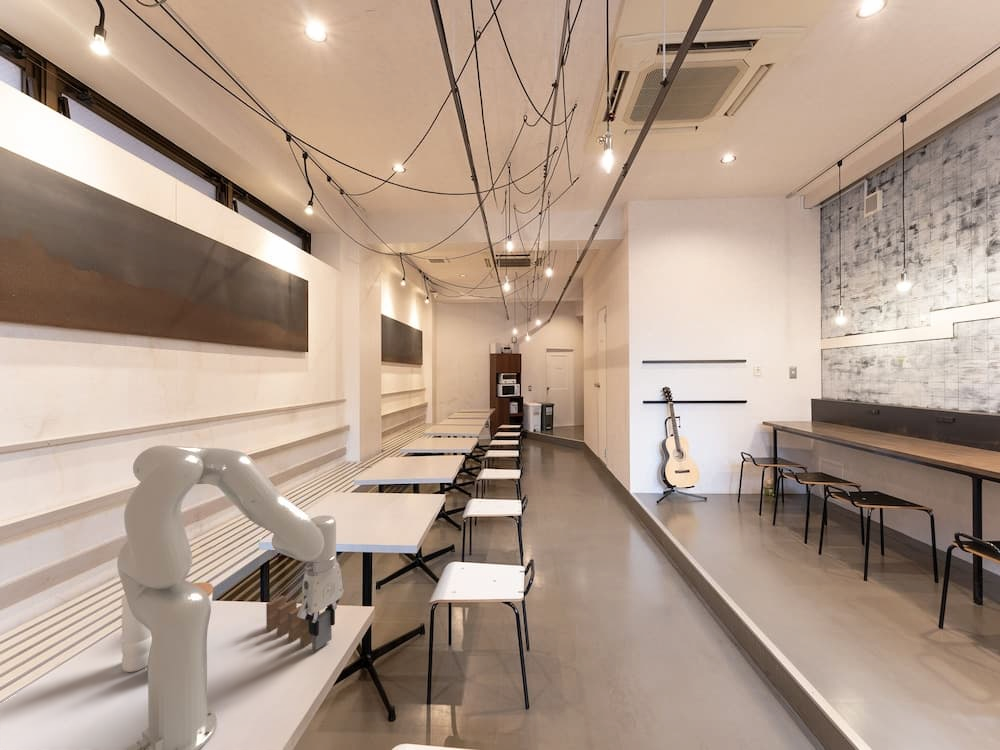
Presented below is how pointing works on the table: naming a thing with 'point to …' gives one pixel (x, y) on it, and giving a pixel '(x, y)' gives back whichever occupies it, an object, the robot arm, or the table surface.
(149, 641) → the water bottle
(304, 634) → the domino
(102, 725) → the table surface
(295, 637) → the domino
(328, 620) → the domino
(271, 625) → the domino
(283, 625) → the domino
